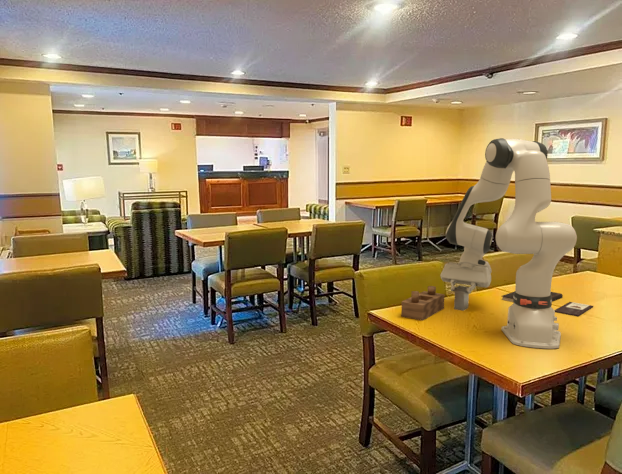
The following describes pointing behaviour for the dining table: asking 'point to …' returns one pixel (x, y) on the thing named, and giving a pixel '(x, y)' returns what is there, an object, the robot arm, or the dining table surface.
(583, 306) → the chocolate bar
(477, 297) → the dining table surface
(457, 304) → the grey upright block
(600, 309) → the dining table surface
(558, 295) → the hardcover book
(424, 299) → the brown block with knob
